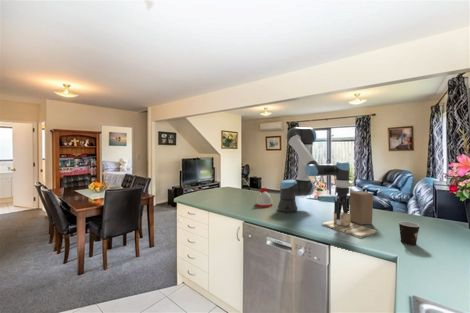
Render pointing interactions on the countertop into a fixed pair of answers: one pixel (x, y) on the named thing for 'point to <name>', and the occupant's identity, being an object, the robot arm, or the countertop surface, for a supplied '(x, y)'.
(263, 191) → the kitchen timer
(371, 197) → the block
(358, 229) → the board
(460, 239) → the countertop surface
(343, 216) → the block
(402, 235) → the coffee mug
